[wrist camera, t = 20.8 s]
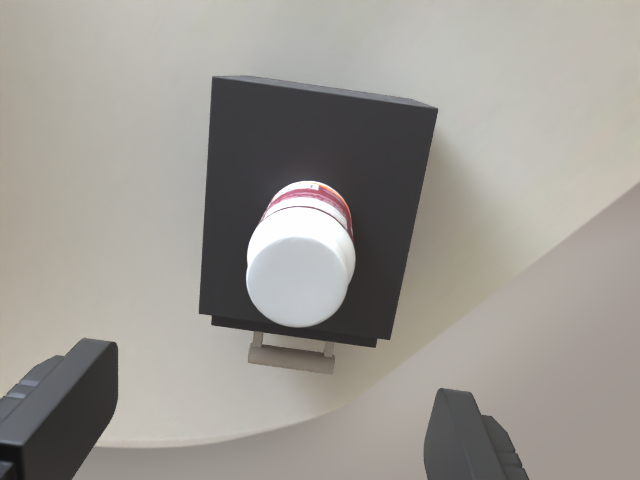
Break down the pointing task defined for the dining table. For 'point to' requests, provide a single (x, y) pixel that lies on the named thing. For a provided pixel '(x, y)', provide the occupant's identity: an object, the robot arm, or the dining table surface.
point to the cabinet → (319, 166)
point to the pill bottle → (301, 255)
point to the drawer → (289, 355)
